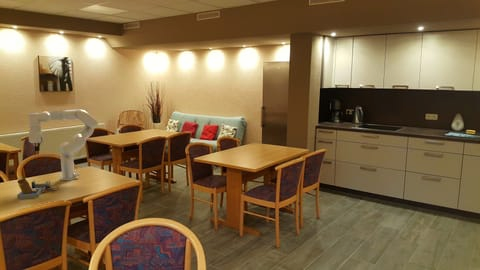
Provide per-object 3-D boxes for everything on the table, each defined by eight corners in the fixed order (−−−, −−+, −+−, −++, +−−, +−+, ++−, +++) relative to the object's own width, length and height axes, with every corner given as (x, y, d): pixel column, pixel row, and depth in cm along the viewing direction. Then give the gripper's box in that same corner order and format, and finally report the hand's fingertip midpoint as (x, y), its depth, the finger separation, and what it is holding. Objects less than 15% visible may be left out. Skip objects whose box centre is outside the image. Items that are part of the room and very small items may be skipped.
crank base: (58, 188, 274) (57, 184, 274) (56, 190, 269) (56, 187, 268) (29, 190, 269) (28, 186, 268) (26, 192, 263) (26, 189, 262)
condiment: (22, 194, 257) (15, 180, 253) (34, 188, 262) (27, 175, 258) (25, 197, 252) (17, 183, 247) (37, 191, 257) (30, 177, 252)
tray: (41, 192, 264) (41, 188, 264) (37, 197, 253) (37, 193, 253) (22, 193, 261) (22, 190, 260) (17, 199, 250) (17, 195, 249)
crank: (51, 186, 272) (50, 179, 271) (50, 188, 268) (49, 180, 267) (32, 187, 269) (32, 180, 268) (31, 189, 264) (30, 182, 263)
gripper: (23, 128, 278) (25, 151, 281) (39, 129, 275) (41, 152, 278) (31, 127, 285) (33, 149, 288) (46, 128, 282) (48, 150, 285)
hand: (37, 150), depth 283 cm, fingers closed
